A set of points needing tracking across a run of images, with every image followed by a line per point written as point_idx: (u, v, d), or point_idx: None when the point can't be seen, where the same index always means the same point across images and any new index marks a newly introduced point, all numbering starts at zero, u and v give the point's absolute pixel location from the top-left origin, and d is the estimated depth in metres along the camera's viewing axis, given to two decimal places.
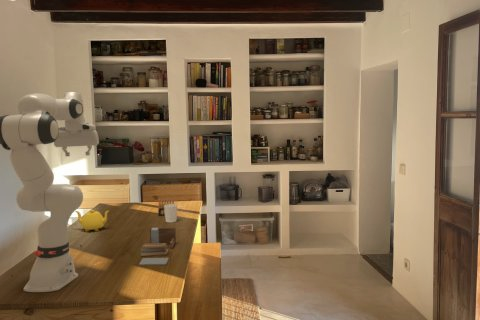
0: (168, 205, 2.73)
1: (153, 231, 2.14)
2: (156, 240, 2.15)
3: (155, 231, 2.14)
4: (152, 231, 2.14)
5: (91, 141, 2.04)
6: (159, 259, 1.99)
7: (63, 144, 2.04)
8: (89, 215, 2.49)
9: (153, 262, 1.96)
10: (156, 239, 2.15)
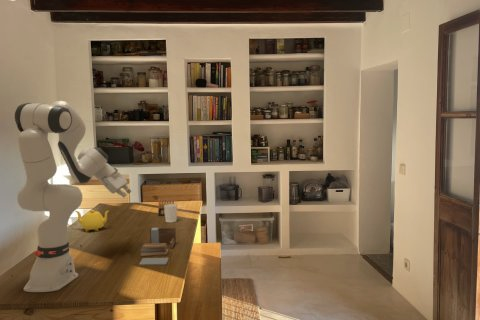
0: (168, 205, 2.73)
1: (153, 231, 2.14)
2: (156, 240, 2.15)
3: (155, 231, 2.14)
4: (152, 231, 2.14)
5: (124, 179, 2.20)
6: (159, 259, 1.99)
7: (119, 186, 2.08)
8: (89, 215, 2.49)
9: (153, 262, 1.96)
10: (156, 239, 2.15)
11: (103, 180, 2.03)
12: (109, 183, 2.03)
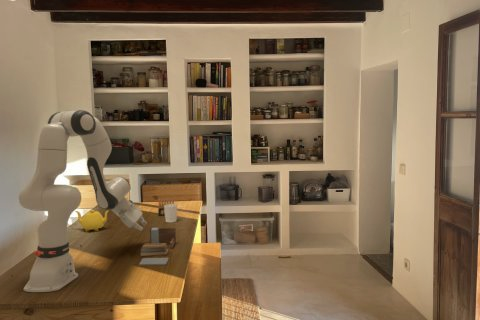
0: (168, 205, 2.73)
1: (153, 231, 2.14)
2: (156, 240, 2.15)
3: (155, 231, 2.14)
4: (152, 231, 2.14)
5: (139, 211, 2.23)
6: (159, 259, 1.99)
7: (135, 220, 2.10)
8: (89, 215, 2.49)
9: (153, 262, 1.96)
10: (156, 239, 2.15)
11: (120, 215, 2.05)
12: (126, 218, 2.06)
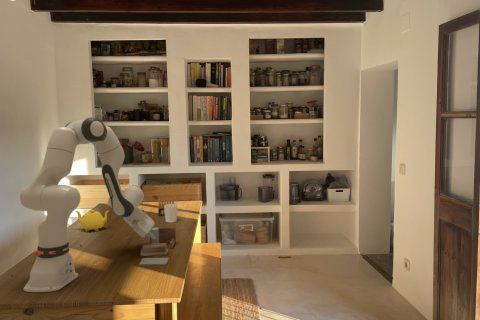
0: (168, 205, 2.73)
1: (153, 231, 2.14)
2: (156, 240, 2.15)
3: (155, 231, 2.14)
4: (152, 231, 2.14)
5: (151, 221, 2.23)
6: (159, 259, 1.99)
7: (148, 229, 2.10)
8: (89, 215, 2.49)
9: (153, 262, 1.96)
10: (156, 239, 2.15)
11: (133, 225, 2.05)
12: (139, 228, 2.06)
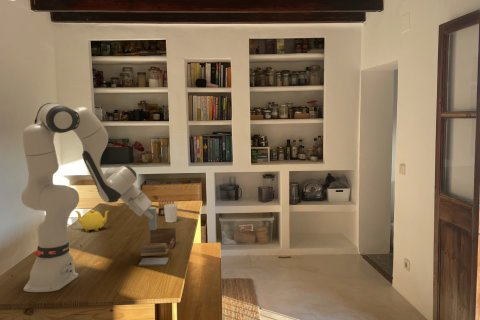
0: (168, 205, 2.73)
1: (151, 210, 2.02)
2: (154, 220, 2.02)
3: (153, 210, 2.02)
4: (149, 210, 2.02)
5: (148, 200, 2.11)
6: (159, 259, 1.99)
7: (145, 208, 1.98)
8: (89, 215, 2.49)
9: (153, 262, 1.96)
10: (154, 219, 2.02)
11: (130, 202, 1.93)
12: (136, 205, 1.94)
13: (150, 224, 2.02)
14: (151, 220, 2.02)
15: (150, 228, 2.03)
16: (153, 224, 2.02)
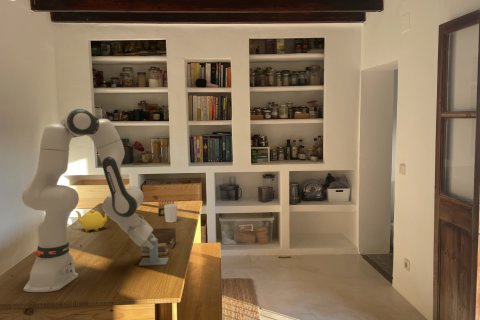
0: (168, 205, 2.73)
1: (151, 242, 1.94)
2: (155, 252, 1.95)
3: (154, 242, 1.94)
4: (150, 242, 1.94)
5: (149, 227, 2.03)
6: (159, 259, 1.99)
7: (145, 237, 1.90)
8: (89, 215, 2.49)
9: (153, 262, 1.96)
10: (155, 251, 1.95)
11: (129, 232, 1.85)
12: (136, 235, 1.86)
13: (151, 256, 1.95)
14: (152, 252, 1.95)
15: (151, 261, 1.95)
16: (154, 256, 1.95)
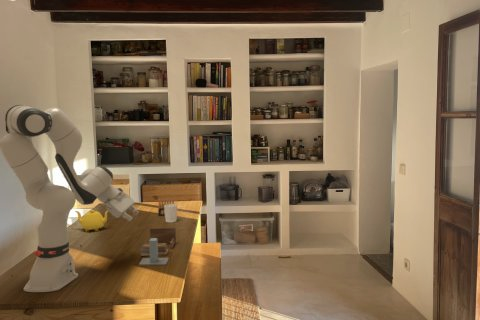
0: (168, 205, 2.73)
1: (151, 242, 1.94)
2: (155, 252, 1.95)
3: (154, 242, 1.94)
4: (150, 242, 1.94)
5: (130, 200, 2.06)
6: (159, 259, 1.99)
7: (123, 209, 1.93)
8: (89, 215, 2.49)
9: (153, 262, 1.96)
10: (155, 251, 1.95)
11: (106, 204, 1.88)
12: (112, 207, 1.89)
13: (151, 256, 1.95)
14: (152, 252, 1.95)
15: (151, 261, 1.95)
16: (154, 256, 1.95)
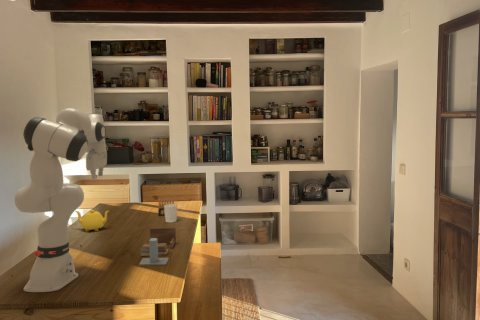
0: (168, 205, 2.73)
1: (151, 242, 1.94)
2: (155, 252, 1.95)
3: (154, 242, 1.94)
4: (150, 242, 1.94)
5: (105, 161, 2.13)
6: (159, 259, 1.99)
7: (96, 167, 2.00)
8: (89, 215, 2.49)
9: (153, 262, 1.96)
10: (155, 251, 1.95)
11: (89, 153, 1.95)
12: (91, 160, 1.96)
13: (151, 256, 1.95)
14: (152, 252, 1.95)
15: (151, 261, 1.95)
16: (154, 256, 1.95)
